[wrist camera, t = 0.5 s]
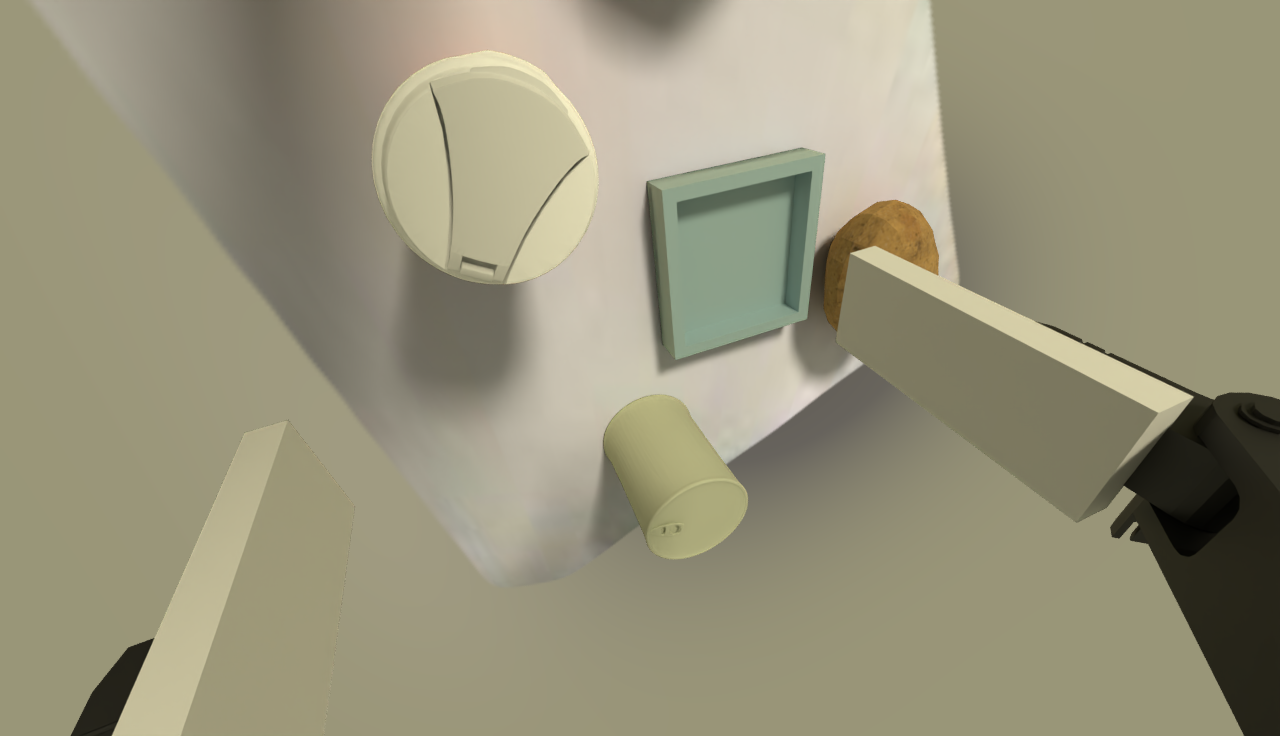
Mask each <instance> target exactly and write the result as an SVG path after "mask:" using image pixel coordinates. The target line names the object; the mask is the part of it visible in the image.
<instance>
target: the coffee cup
mask: <svg viewBox="0 0 1280 736" xmlns="http://www.w3.org/2000/svg"><path fill="white" fill-rule="evenodd" d="M371 162H372V171H373V181H374V184H375V188H376V192H377V195H378V199H379V201H380V204H381V206H382V208H383V210H384V213H385V215H386V217H387V219H388V220H389V222H390V223H391V225H392V226H393V228H394V230H395V231H396V233H397V234H398V235H399V236H400V237H401V239H402V240H403V241H404V242H405V243H406V244H407V246H408V247H409V248H410V249H411V250H413V251H414V252H415V253H416V254H417V255H418V256H419V257H421V258H422V259H423V260H425V261H426V262H428V263H429V264H431V265H432V266H434V267H435V268H437V269H439V270H441V271H443V272H445V273H447V274H449V275H451V276H453V277H457V278H460V279H463V280H466V281H470V282H476V283H482V284H505V285H507V284H515V283H521V282H524V281H528V280H532V279H534V278H536V277H539V276H541V275H543V274H545V273H547V272H549V271H550V270H552V269H553V268H555V267H557V266H558V265H559V264H560V263H561V262H562V261H564V260H565V259H566V258H567V257H568V256H569V255H570V254H571V253H572V251H573V250H574V249H575V248H576V247H577V245H578V244H579V242H580V240H581V239H582V237H583V236H584V234H585V232H586V231H587V228H588V226H589V224H590V221H591V219H592V217H593V213H594V209H595V206H596V202H597V194H598V186H599V184H598V165H597V160H596V154H595V150H594V147H593V143H592V140H591V137H590V134H589V132H588V130H587V128H586V126H585V124H584V122H583V120H582V118H581V117H580V115H579V114H578V112H577V111H576V109H575V108H574V106H573V105H572V103H571V102H570V101H569V100H568V99H567V98H566V97H565V96H564V94H563V93H562V92H561V91H560V90H559V89H558V88H557V87H556V85H555V84H554V83H553V82H552V81H551V79H550V78H549V77H548V76H547V75H546V73H545V72H544V71H542V70H540V69H539V68H537V67H535V66H534V65H532V64H530V63H529V62H527V61H524V60H522V59H519V58H517V57H514V56H511V55H509V54H505V53H500V52H495V51H490V50H485V51H481V52H476V53H471V54H466V55H460V56H454V57H448V58H445V59H442V60H439V61H437V62H434V63H431V64H428V65H427V66H425V67H424V68H422V69H420V70H419V71H417V72H415V73H414V74H412V75H411V76H410V77H409V78H408V79H407V80H405V81H404V82H403V83H402V84H401V85H400V86H399V87H398V88H397V89H396V91H395V92H394V93H393V95H392V96H391V98H390V99H389V100H388V102H387V103H386V105H385V107H384V109H383V111H382V113H381V116H380V118H379V120H378V122H377V126H376V130H375V134H374V138H373V145H372V160H371Z"/></svg>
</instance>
